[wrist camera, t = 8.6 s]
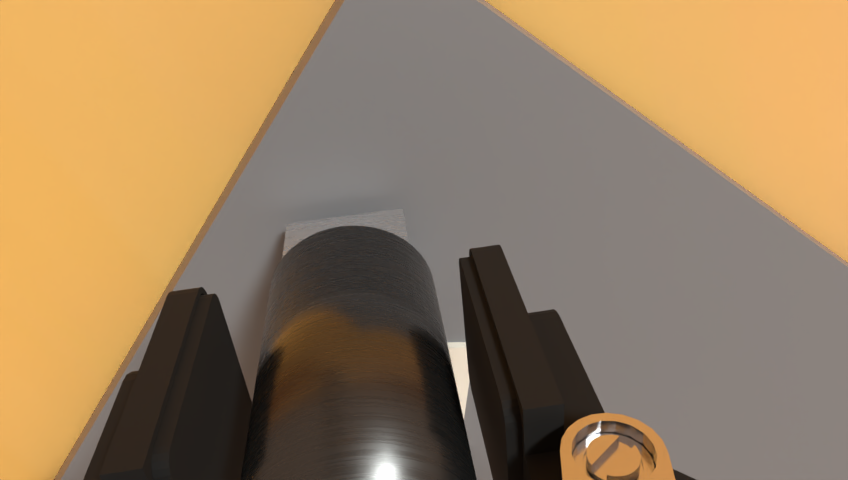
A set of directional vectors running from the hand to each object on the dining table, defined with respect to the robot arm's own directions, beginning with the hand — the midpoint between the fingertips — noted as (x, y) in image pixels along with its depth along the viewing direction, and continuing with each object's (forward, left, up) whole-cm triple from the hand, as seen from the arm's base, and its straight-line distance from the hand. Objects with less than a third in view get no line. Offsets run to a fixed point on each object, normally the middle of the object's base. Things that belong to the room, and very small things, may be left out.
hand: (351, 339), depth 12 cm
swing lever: (+6, +5, -3) cm, 9 cm away
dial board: (+6, +8, -5) cm, 11 cm away
